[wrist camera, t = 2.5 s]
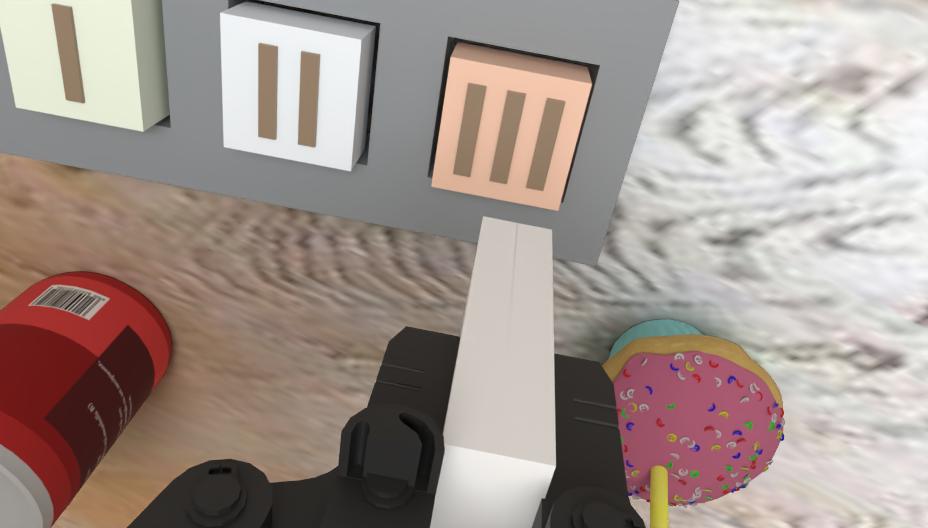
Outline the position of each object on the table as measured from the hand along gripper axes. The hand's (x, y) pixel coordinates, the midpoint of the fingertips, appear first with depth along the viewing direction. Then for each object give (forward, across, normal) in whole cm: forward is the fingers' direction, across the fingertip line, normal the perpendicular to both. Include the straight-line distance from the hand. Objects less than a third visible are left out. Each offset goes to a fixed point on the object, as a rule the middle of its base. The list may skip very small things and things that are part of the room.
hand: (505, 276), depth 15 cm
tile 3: (+11, 0, 0) cm, 11 cm away
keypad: (+13, +8, 0) cm, 16 cm away
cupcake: (+14, -9, +11) cm, 20 cm away
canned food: (+14, +19, +16) cm, 28 cm away
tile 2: (+11, +8, 0) cm, 14 cm away
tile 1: (+11, +15, 0) cm, 19 cm away
